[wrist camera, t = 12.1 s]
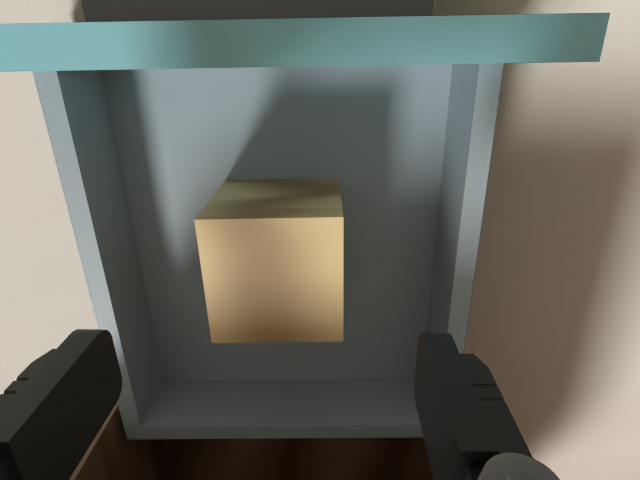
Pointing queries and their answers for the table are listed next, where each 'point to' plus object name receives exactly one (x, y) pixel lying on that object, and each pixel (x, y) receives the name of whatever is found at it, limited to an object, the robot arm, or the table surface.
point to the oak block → (273, 260)
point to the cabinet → (250, 458)
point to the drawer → (279, 163)
